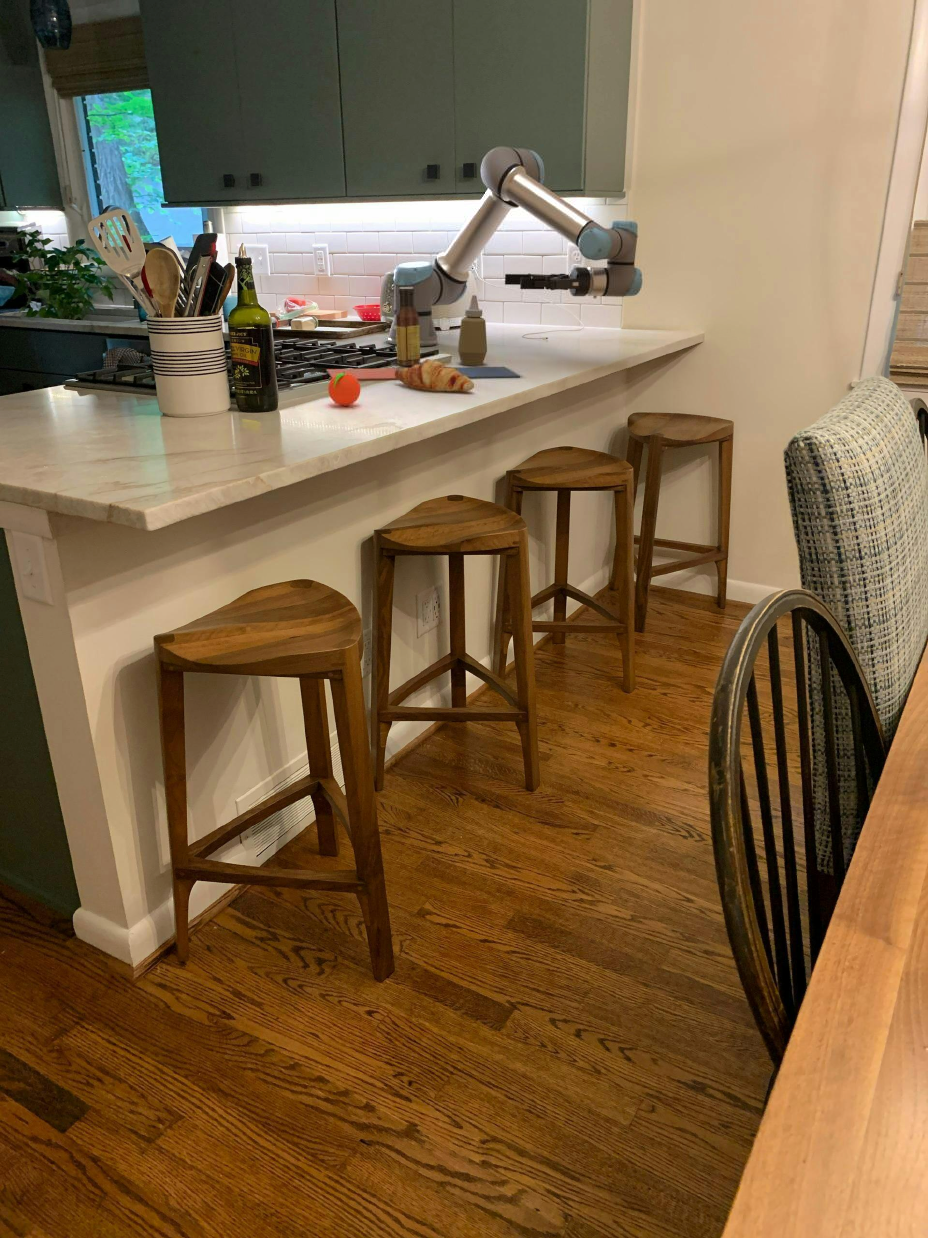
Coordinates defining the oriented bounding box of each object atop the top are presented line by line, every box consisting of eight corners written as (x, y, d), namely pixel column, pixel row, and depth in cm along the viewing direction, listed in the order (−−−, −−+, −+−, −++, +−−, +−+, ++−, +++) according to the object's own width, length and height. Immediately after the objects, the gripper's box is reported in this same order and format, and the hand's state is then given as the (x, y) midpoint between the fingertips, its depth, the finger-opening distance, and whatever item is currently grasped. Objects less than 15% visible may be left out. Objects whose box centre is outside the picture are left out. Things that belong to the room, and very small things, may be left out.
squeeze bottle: (452, 364, 255) (454, 295, 247) (463, 360, 261) (465, 293, 254) (480, 367, 252) (482, 297, 245) (490, 363, 259) (493, 295, 251)
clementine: (349, 410, 197) (349, 376, 194) (320, 407, 199) (319, 373, 196) (366, 404, 204) (365, 370, 201) (337, 400, 206) (336, 368, 203)
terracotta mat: (326, 370, 240) (326, 369, 240) (394, 369, 245) (394, 368, 245) (333, 380, 228) (333, 378, 228) (405, 379, 233) (405, 377, 232)
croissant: (477, 405, 222) (485, 373, 222) (463, 391, 213) (471, 357, 213) (399, 394, 230) (407, 362, 230) (382, 380, 220) (390, 347, 220)
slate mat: (439, 369, 248) (439, 367, 248) (503, 368, 252) (503, 366, 252) (452, 378, 236) (452, 376, 235) (519, 377, 240) (519, 375, 240)
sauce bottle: (421, 363, 255) (422, 286, 247) (418, 367, 249) (418, 288, 241) (397, 362, 255) (397, 285, 247) (394, 366, 250) (393, 287, 241)
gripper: (603, 300, 246) (526, 300, 241) (569, 291, 268) (498, 291, 263) (605, 270, 243) (528, 269, 238) (571, 264, 265) (499, 263, 260)
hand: (512, 281), depth 250 cm, fingers open, 13 cm apart
